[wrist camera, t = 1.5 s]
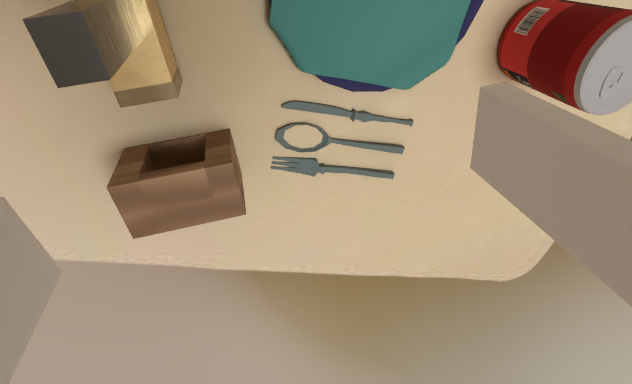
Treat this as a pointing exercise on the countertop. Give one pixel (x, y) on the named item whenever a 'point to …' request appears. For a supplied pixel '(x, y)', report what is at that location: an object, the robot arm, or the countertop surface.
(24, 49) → the countertop surface
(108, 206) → the countertop surface
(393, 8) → the cutlery set
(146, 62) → the gray and tan bar
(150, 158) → the socket block
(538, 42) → the canned food
